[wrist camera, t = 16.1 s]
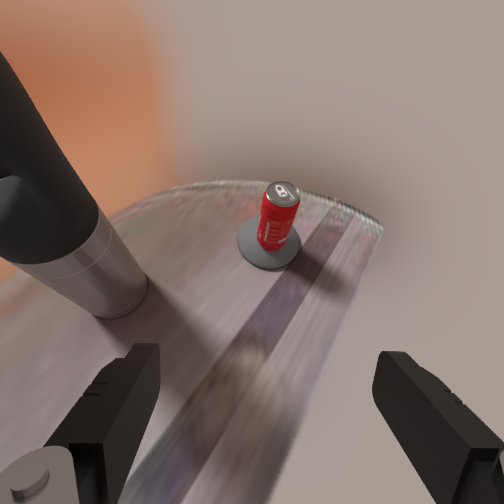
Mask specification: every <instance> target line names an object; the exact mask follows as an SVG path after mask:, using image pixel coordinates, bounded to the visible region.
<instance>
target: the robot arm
mask: <svg viewBox="0 0 504 504" xmlns="http://www.w3.org/2000/svg"><path fill="white" fill-rule="evenodd" d="M2 178H3V179H2ZM0 179H1V180H0V257H2V258H4V259H5V260H7V261H9V262H10V263H12V264H13V265H15V266H16V267H18V268H20V269H21V270H23V271H24V272H26V273H28V274H29V275H31V276H33V277H34V278H36V279H37V280H39V281H41V282H42V283H44V284H45V285H47V286H49V287H50V288H52V289H53V290H55V291H57V292H58V293H60V294H61V295H63V296H65V297H66V298H68V299H69V300H71V301H72V302H74V303H76V304H77V305H79V306H80V307H82V308H84V309H85V310H87V311H88V312H90V313H92V314H93V315H95V316H97V317H100V318H105V319H112V318H118V317H121V316H124V315H126V314H128V313H130V312H131V311H132V310H134V309H135V308H136V307H137V306H138V305H139V304H140V303H141V301H142V300H143V298H144V296H145V294H146V290H147V279H146V276H145V274H144V273H143V271H142V270H141V268H140V267H139V265H138V264H137V262H136V260H135V259H134V257H133V256H132V254H131V253H130V251H129V250H128V248H127V247H126V245H125V244H124V243H123V241H122V240H121V238H120V237H119V235H118V234H117V232H116V231H115V229H114V228H113V226H112V225H111V223H110V222H109V220H108V219H107V218H106V216H105V215H104V213H103V212H102V210H101V209H100V207H99V206H98V204H97V203H96V201H95V200H94V199H93V197H92V196H91V194H90V193H89V191H88V190H87V188H86V187H85V185H84V184H83V183H82V181H81V179H80V178H79V176H78V175H77V174H76V172H75V170H74V169H73V167H72V166H71V165H70V163H69V161H68V160H67V158H66V157H65V156H64V154H63V153H62V151H61V149H60V148H59V146H58V144H57V143H56V141H55V139H54V138H53V136H52V134H51V133H50V131H49V129H48V128H47V126H46V124H45V122H44V121H43V119H42V117H41V116H40V114H39V112H38V111H37V109H36V107H35V106H34V104H33V102H32V100H31V98H30V97H29V95H28V93H27V92H26V90H25V88H24V87H23V85H22V83H21V82H20V80H19V79H18V77H17V76H16V74H15V72H14V71H13V69H12V68H11V66H10V64H9V63H8V62H7V60H6V59H5V57H4V56H3V55H2V54H1V52H0ZM160 381H161V380H160V349H159V345H158V344H153V343H135V344H134V345H133V346H132V348H131V349H130V351H129V352H128V354H127V355H126V357H125V358H116V359H114V360H113V361H112V362H110V363H109V364H108V365H106V366H105V367H104V368H102V369H101V371H100V372H99V373H98V375H97V376H96V377H95V379H94V380H93V381H92V384H91V385H89V386H88V388H87V389H86V390H85V392H84V393H83V396H81V397H80V398H79V400H78V401H77V402H76V404H75V405H74V406H73V408H72V409H71V410H70V412H69V413H68V414H67V416H66V417H65V418H64V420H63V421H62V422H61V424H60V425H59V426H58V428H57V429H56V430H55V432H54V433H53V434H52V436H51V437H50V438H49V440H48V441H47V442H46V444H45V445H44V446H43V447H42V448H39V449H36V450H34V451H32V452H29V453H28V454H26V455H24V456H22V457H20V458H19V459H17V460H16V461H14V462H13V463H12V464H10V465H9V466H8V467H7V468H5V469H4V470H3V471H2V472H1V473H0V504H117V502H118V500H119V497H120V495H121V492H122V489H123V487H124V484H125V482H126V479H127V477H128V474H129V471H130V469H131V466H132V464H133V461H134V459H135V456H136V453H137V451H138V448H139V446H140V443H141V440H142V438H143V435H144V433H145V430H146V428H147V425H148V422H149V420H150V417H151V415H152V412H153V410H154V407H155V404H156V402H157V399H158V395H159V390H160ZM372 394H373V398H374V401H375V404H376V406H377V408H378V409H379V411H380V412H381V414H382V416H383V417H384V419H385V420H386V422H387V424H388V425H389V427H390V429H391V430H392V432H393V434H394V435H395V437H396V439H397V440H398V442H399V443H400V445H401V447H402V448H403V450H404V452H405V453H406V455H407V456H408V458H409V460H410V461H411V463H412V465H413V466H414V468H415V469H416V471H417V473H418V475H419V476H420V478H421V480H422V481H423V483H424V484H425V486H426V488H427V489H428V491H429V493H430V494H431V496H432V498H433V499H434V501H435V502H436V504H504V442H503V441H502V440H501V439H500V438H499V437H498V436H497V435H496V434H495V433H494V432H493V431H492V430H491V429H490V428H488V426H487V425H485V423H484V422H482V421H481V420H480V419H479V418H478V417H477V416H476V415H475V414H474V413H473V412H472V411H471V410H470V409H469V408H468V407H467V406H466V405H465V404H463V403H462V401H461V400H460V399H459V398H458V397H457V396H456V395H455V394H454V393H451V390H450V389H449V388H448V387H447V386H446V385H445V384H444V383H443V382H442V381H441V380H440V379H439V378H438V377H436V376H435V375H433V374H432V373H430V372H428V371H427V370H425V369H424V368H422V367H420V366H419V365H418V364H417V363H416V362H415V361H414V360H413V359H412V358H411V357H410V356H409V355H408V354H407V353H405V352H398V351H382V352H381V353H380V354H379V357H378V362H377V367H376V371H375V376H374V381H373V385H372Z"/></svg>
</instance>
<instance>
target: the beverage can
mask: <svg viewBox="0 0 504 504" xmlns="http://www.w3.org/2000/svg"><path fill="white" fill-rule="evenodd" d="M299 203H300V193H299V191H298V189H297V188H296V187H295V186H294V185H293V184H291V183H289V182H285V181H276V182H273V183H271V184H270V185H269V186H268V187H267V189H266V190H265V192H264V194H263V200H262V207H261V213H260V219H259V225H258V231H257V240H258V242H259V244H260V246H261V247H262V248H263V249H265V250H268V251H276V250H278V249H280V248H281V247H283V246H284V245H285V243H286V240H287V237H288V235H289V232H290V229H291V226H292V223H293V220H294V218H295V215H296V212H297V209H298V206H299Z"/></svg>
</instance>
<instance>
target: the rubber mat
mask: <svg viewBox="0 0 504 504" xmlns="http://www.w3.org/2000/svg"><path fill="white" fill-rule="evenodd" d="M259 219H260V216H256V217H253V218H251V219H249V220H248V221H246V222H245V223H244V224H243V226H242V227H241V229H240V231H239V234H238V247H239V250H240V252H241V254H242V255H243V257H244V258H245V259H246V260H247V261H248V262H249V263H251V264H253V265H255V266H257V267H260V268H264V269H277V268H281V267H283V266H286V265H287V264H289V263H290V262H291V261H292V260H293V259H294V257H295V256H296V254H297V252H298V249H299V237H298V234H297V232H296V230H295V229H294V228H293V226H291V229H290V232H289V235H288V237H287V240H286V243H285V245H284V246H283V247H281V248H280V249H278V250H276V251H268V250H265V249H263V248H262V247H261V246H260V244H259V242H258V240H257V231H258V225H259Z"/></svg>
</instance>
